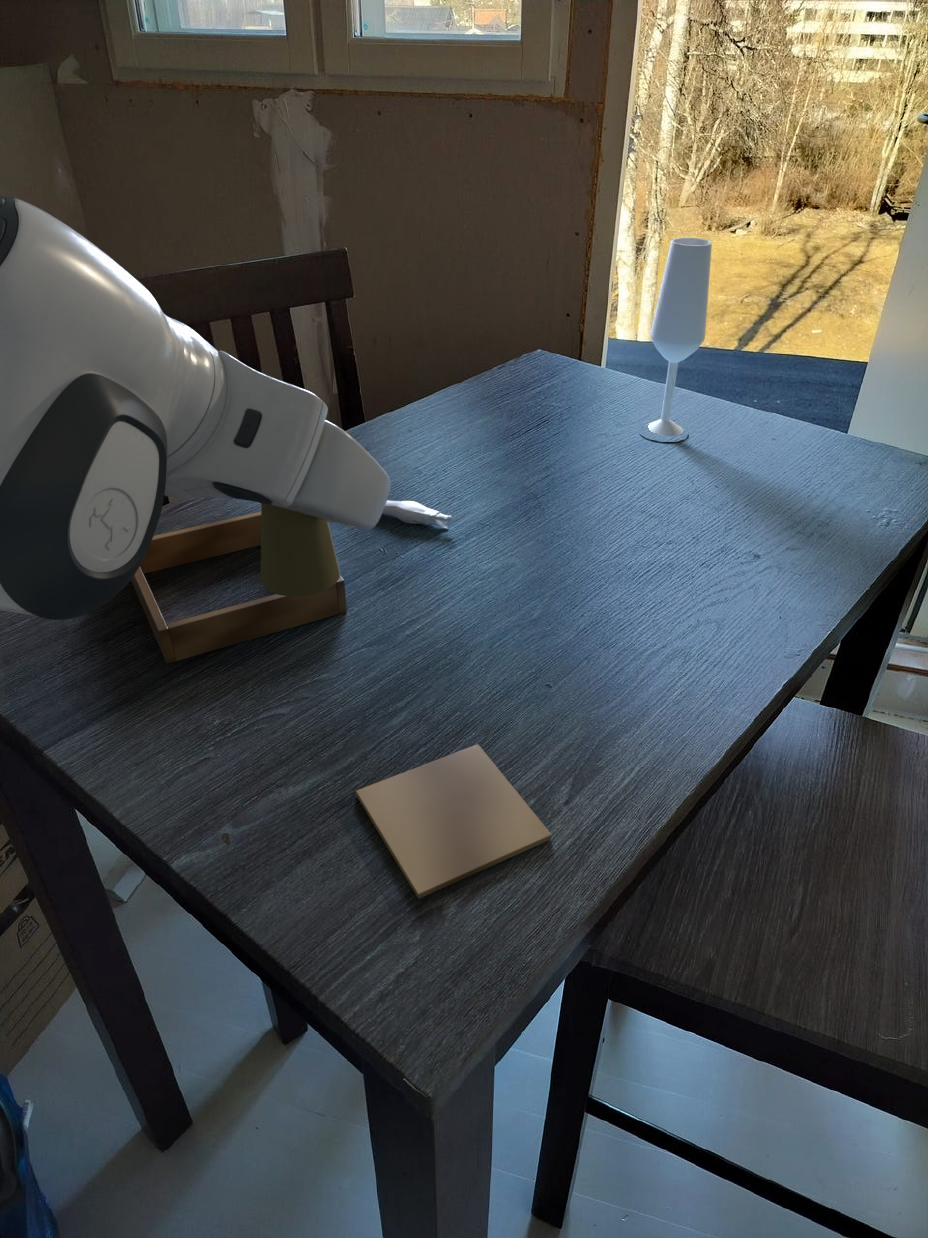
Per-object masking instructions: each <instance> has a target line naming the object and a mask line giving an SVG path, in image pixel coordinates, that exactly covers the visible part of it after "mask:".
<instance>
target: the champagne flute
mask: <svg viewBox="0 0 928 1238" xmlns="http://www.w3.org/2000/svg"><path fill="white" fill-rule="evenodd" d="M712 245H713V242H712V241H711V240H708V239H704V238H699V237H677V238H672V239H671V241H670V244H669V249H668V252H667V258H666V263H665V267H664V271H663V276H662V280H661V284H660V285H661V286H660V288H659V293H658V299H657V303H656V307H655V311H654V317H653V321H652V325H651V331H650V338H651V341H652V343H653V345H654V347H655V349H656V350H657V351H658V353H660V356H661V357H663V358H664V359H665V360H666V361H668V366H667V373H666V382H665V388H664V395H663V402H662V409H661V415H660V419H657V420H654V421H651V422H650V423H648V424H649V425H648V428H649V430H650V431H651V432H653V433H657V434H658V435H666V436H675V435H677V436H678V435H680V434H682V433H683V429H684V428H683V427H681V426H680V425H678V424H677V423H675V422H674V421H673V420H671V415H672V409H673V401H674V394H675V388H676V380H677V375H678V367H679V363H681V362H683V361H684V360H686V359H688V358H689V357H690V356H691V355H693V354H694V353H695V352H697V350H698V349H699V348H700V347H701V346H702V344H703V343H704V341H705V339H706V331H707V315H708V304H709V303H708V302H709V301H708V300H709V289H710V288H709V287H710V275H711V262H712V261H711V260H712V249H713V247H712ZM682 428H683V429H682Z"/></svg>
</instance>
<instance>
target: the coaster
mask: <svg viewBox="0 0 928 1238" xmlns="http://www.w3.org/2000/svg"><path fill="white" fill-rule="evenodd" d="M355 797H356V798H357V799H358V801H359V802H360V804H361V806H362V808H363V809H364V811H365V813H366V815H367V816H368V818H369V820H370V822H371V823H372V825H373V826H374V828H375V830H376V831H377V833H378V835H379V836H380V839H382V841H383V843H384V845H385V846H386V848H387V849H388V851H389V853H390V854H391V856H392V858H393V859H394V861H395V863H396V865H397V866H398V868H399V869H400V871H401V873H402V874H403V876H404V879H406V881H407V883H408V885H409V887H410V888H411V890H412V891H413V893H414V894H415V896H416V898H417V899H418V900H420V899H422V898H424V897H427V896H429V895H431V894H434V893H436V892H437V891H440V890H442V889H444V888H447V887H448V886H451V885H454V884H455V883H457V882H459V881H462V880H464V879H466V878H469V877H471V876H473V875H475V874H478V873H479V872H482V871H484V870H487V869H488V868H491V867H493V866H495V865H497V864H500V863H502V862H504V861H507V860H508V859H511V858H513V857H515V856H517V855H520V854H522V853H524V852H526V851H528V850H531V849H533V848H535V847H538V846H539V845H543V844H545V843H546V842H548V841H550V840H552V833H551V832H550V830H549V829H547V827H546V826H545V824H544V823H543V822H542V821H541V819H540V818H539V817H538V816H537V815H536V813H535V812H534V811H533V810H532V808H530V806H529V805H528V803H527V802H526V801H525V800H524V799H523V798H522V796H521V795H520V794H519V792H518V791H517V790H516V789H515V787H513V785H512V784H511V783H510V782H509V780H508V779H507V778H506V776H505V775H504V773H502V771H501V770H500V769H499V768H498V766H497V765H496V764H495V763H494V762H493V761H492V759H491V758H490V757H489V755H487V752H485V750H484V749H483V748H482V747H481V746H480V744H475V745H472V746H469V747H466V748H464V749H462V750H459V751H457V752H453V753H451V754H449V755H446V756H444V757H440V758H438V759H435V760H433V761H430V762H428V763H425V764H423V765H420V766H417V767H415V768H412V769H409V770H407V771H404V772H402V773H401V772H400V773H399V774H396V775H394V776H391V777H388V778H385V779H383V780H380V781H377V782H375V783H373V784H370V785H367V786H364V787H362V788H360V789H356V790H355Z"/></svg>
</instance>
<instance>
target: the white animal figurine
mask: <svg viewBox="0 0 928 1238" xmlns="http://www.w3.org/2000/svg"><path fill="white" fill-rule="evenodd" d="M382 515H385V516H390V517H395V518H397V519H398V520H399V521H401V522H403V523H405V524H411V525H426V526H433V525H434V526H437V527H439V528H441V529H444V530H449V529H450V526H449V525H448V524H447V523H446V522H451V521H453V520H454V519H453V518H454V517H453V515H449V514H444V513H442V512H440V511H438V510H436V509H433V508H429V507H426V506H425V505H423V504H421V503H420V502H417V501H413V500H389V499H387V501H386V504H385V507H384V510H383V512H382Z"/></svg>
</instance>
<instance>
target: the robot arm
mask: <svg viewBox="0 0 928 1238" xmlns="http://www.w3.org/2000/svg"><path fill="white" fill-rule="evenodd" d="M161 308H162V307H160V304H159V303H158V301H157V300H156V298H155V297H154V296H153V294H152V293H151V292H150V291H149V290H148V288H146V287H145V285H143V284H142V283H141V282H140V281H139V280H138V279H137V278H135V277H134V276H133V275H132V274H131V273H130V272H128V271H127V270H126V269H125V268H124V267H123V266H121V265H120V264H119V263H118V262H116V261H115V260H114V259H113V258H112V257H111V256H109V255H108V254H107V253H105V251H103V250H101V248H99V247H98V246H97V245H96V244H94V243H93V242H91V241H90V240H88V239H87V238H86V237H85V236H83V235H82V234H80V233H79V232H78V231H76V230H75V229H73V228H72V227H70V226H69V225H67V224H66V223H64V222H62V221H61V220H59V219H58V218H57V217H54V216H53V215H51V214H50V213H48V212H46V211H45V210H43V209H41V208H39V207H37V206H35V205H33V204H31V203H29V202H26V201H25V200H22V199H19V198H15V197H10V196H0V611H3V612H8V613H14V614H20V615H25V616H26V615H27V616H32V617H39V618H42V619H46V620H52V621H53V620H54V621H64V620H66V621H67V620H72V619H77V618H81V617H83V616H86V615H88V614H90V613H92V612H95V611H96V610H98V609H100V608H101V607H103V606H104V605H106V604H107V603H109V602H110V601H111V600H112V599H114V598H115V597H116V596H117V595H118V594H119V593H120V592H121V591H123V589H125V587H126V586H127V585H128V584H129V583H130V582H131V579H132V578H133V576H134V575H135V573H136V572H137V570H138V569H139V567H140V565H141V563H142V562H143V560H144V558H145V556H146V553H147V551H148V549H149V546H150V544H151V541H152V538H153V536H155V533H156V530H157V527H158V524H159V521H160V518H161V515H162V511H163V507H164V500H165V497H169V498H172V499H179V500H180V499H181V500H182V499H193V498H209V499H236V500H242V501H249V502H255V503H259V504H261V503H264V504H268V505H274V506H277V507H281V508H285V509H288V510H292V511H296V512H299V513H303V514H307V515H310V516H314V517H315V518H318V519H321V520H325V521H328V522H329V523H330V522H331V523H332V522H333V523H336V524H340V525H344V526H348V527H351V528H354V529H356V530H360V531H365V532H366V531H371V530H372V529H374V528H375V527H376V525H378V523H379V521H380V519H381V517H382V515H383V514H382V512H383V510H384V507H385V504H386V501H387V500H389V499H388V498H389V495H390V492H391V479H390V476H389V475H388V473H387V472H386V470H385V469H384V468H383V467H382V465H381V464H379V463H378V461H377V460H376V459H375V458H374V457H373V455H371V454H370V453H369V452H368V451H367V450H366V449H365V448H364V446H363V445H361V444H360V443H359V442H358V441H357V440H356V439H355V438H354V437H353V436H352V435H350V434H349V433H348V432H346V431H345V430H344V429H342V428H341V427H339V426H338V425H336V424H334V423H332V422H330V421H329V420H326V419H327V415H328V411H329V407H328V406H327V404H326V403H325V402H324V400H322V399H321V398H320V397H319V396H317V395H316V394H315V393H313V392H312V391H309V390H306V389H304V388H301V387H299V386H297V385H294V384H292V383H289V382H286V381H284V380H280V379H279V378H276V377H274V376H271V375H269V374H266V373H264V372H260V371H258V370H256V369H253V368H252V367H250V366H248V365H246V364H245V363H243V362H241V361H240V360H238V359H236V358H235V357H234V356H232V355H230V354H229V353H227V351H223V350H218V349H216V348H215V347H214V346H213V345H211V344H210V343H209V342H208V341H207V340H206V339H204V338H203V337H202V336H201V335H200V334H199V333H198V332H196V330H195V329H193V328H192V327H190V326H188V325H187V324H185V323H184V322H181V321H179V320H177V319H175V318H172V317H170V316H168V315H166V313H164V312H163V310H162V309H161Z"/></svg>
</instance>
